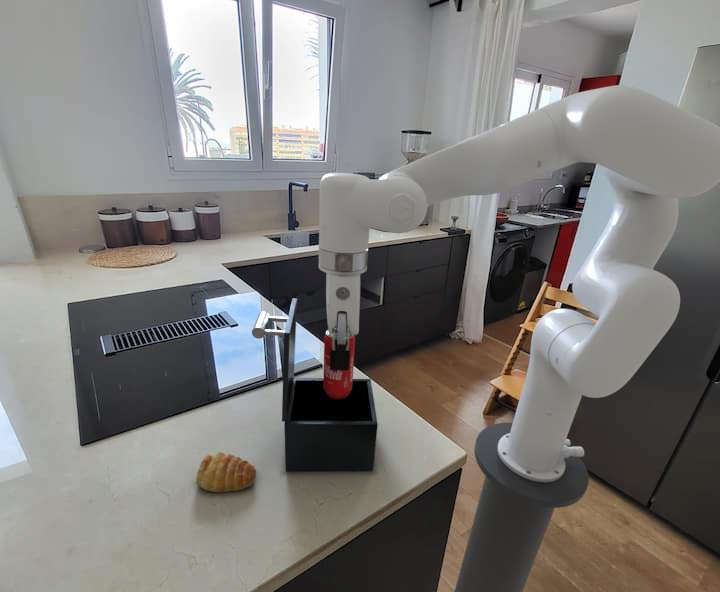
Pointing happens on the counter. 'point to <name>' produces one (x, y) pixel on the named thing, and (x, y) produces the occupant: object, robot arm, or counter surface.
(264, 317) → the bin lid
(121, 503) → the counter surface
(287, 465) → the waste bin
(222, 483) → the pastry
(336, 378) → the beverage can
